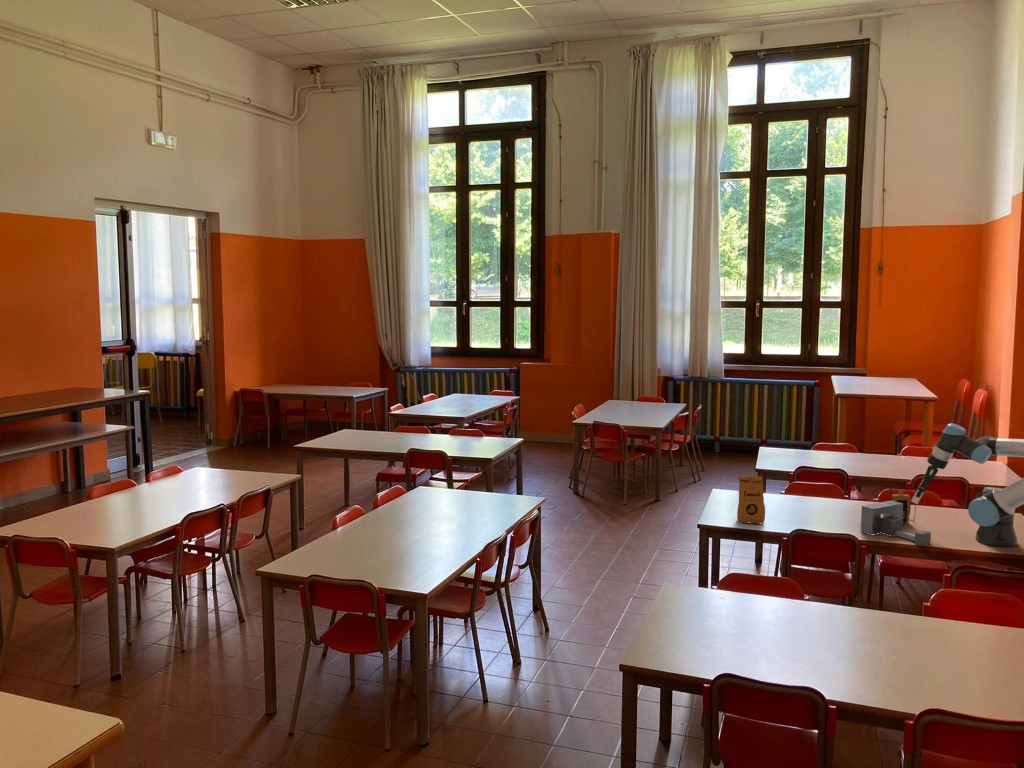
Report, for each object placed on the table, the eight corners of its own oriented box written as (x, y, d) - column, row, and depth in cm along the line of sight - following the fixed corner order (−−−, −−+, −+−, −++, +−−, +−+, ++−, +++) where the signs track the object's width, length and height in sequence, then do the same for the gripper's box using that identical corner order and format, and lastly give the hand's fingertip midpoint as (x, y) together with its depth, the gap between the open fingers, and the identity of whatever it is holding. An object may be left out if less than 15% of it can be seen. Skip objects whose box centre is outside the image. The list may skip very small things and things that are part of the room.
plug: (931, 543, 340) (931, 527, 339) (919, 546, 337) (920, 529, 336) (890, 531, 358) (891, 515, 357) (879, 533, 355) (880, 517, 354)
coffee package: (764, 526, 366) (766, 479, 364) (736, 524, 370) (737, 477, 367) (764, 520, 376) (766, 474, 373) (737, 518, 379) (738, 473, 377)
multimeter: (908, 517, 378) (910, 476, 376) (917, 523, 368) (919, 481, 366) (876, 517, 379) (878, 475, 377) (884, 523, 369) (886, 480, 367)
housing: (901, 529, 359) (903, 503, 358) (872, 535, 351) (873, 509, 350) (890, 526, 365) (891, 500, 363) (860, 531, 356) (861, 505, 355)
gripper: (935, 445, 354) (913, 484, 363) (926, 460, 334) (903, 502, 343) (952, 453, 351) (929, 493, 359) (944, 469, 331) (920, 511, 340)
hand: (916, 497), depth 351 cm, fingers open, 13 cm apart
